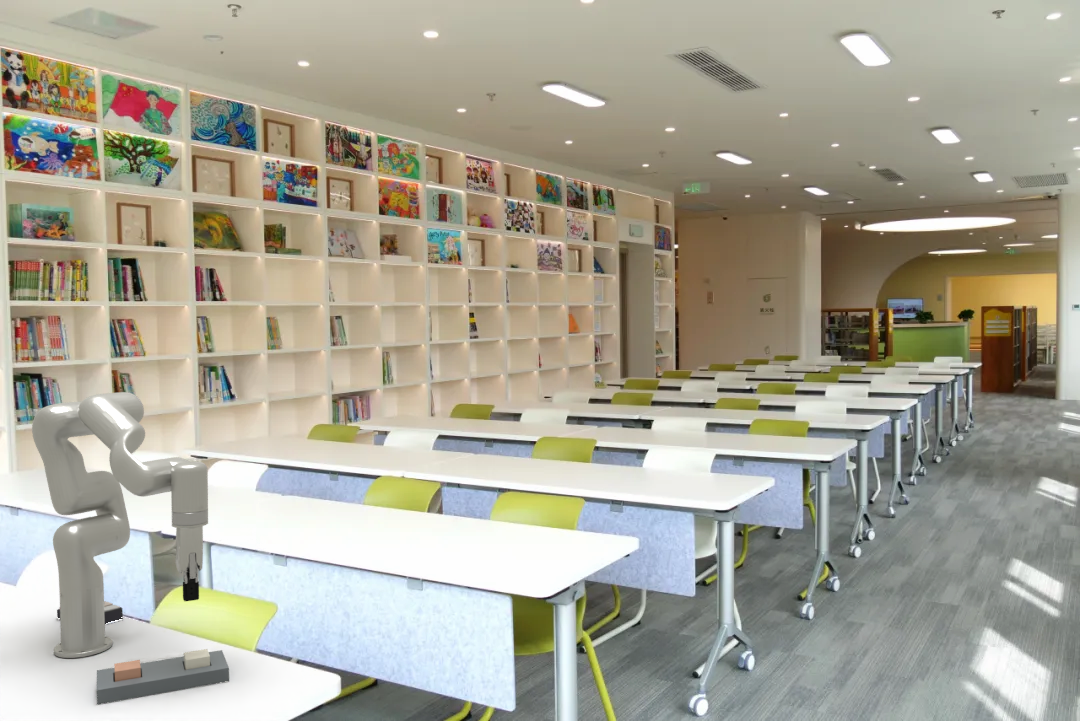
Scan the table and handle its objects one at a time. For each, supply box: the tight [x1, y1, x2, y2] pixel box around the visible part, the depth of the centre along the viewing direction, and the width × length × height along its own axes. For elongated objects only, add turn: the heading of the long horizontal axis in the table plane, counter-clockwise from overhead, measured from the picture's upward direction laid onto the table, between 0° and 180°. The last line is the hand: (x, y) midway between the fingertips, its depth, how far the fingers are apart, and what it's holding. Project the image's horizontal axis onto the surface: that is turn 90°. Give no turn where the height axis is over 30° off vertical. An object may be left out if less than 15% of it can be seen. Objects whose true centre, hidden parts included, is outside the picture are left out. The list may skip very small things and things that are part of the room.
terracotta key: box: [114, 659, 141, 682], centre depth 191 cm, size 5×5×4 cm
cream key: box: [183, 648, 210, 670], centre depth 197 cm, size 5×5×4 cm
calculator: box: [56, 600, 124, 624], centre depth 237 cm, size 11×4×15 cm
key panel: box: [96, 649, 230, 705], centre depth 194 cm, size 12×26×3 cm, turn 116°
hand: (191, 599), depth 197 cm, fingers closed
